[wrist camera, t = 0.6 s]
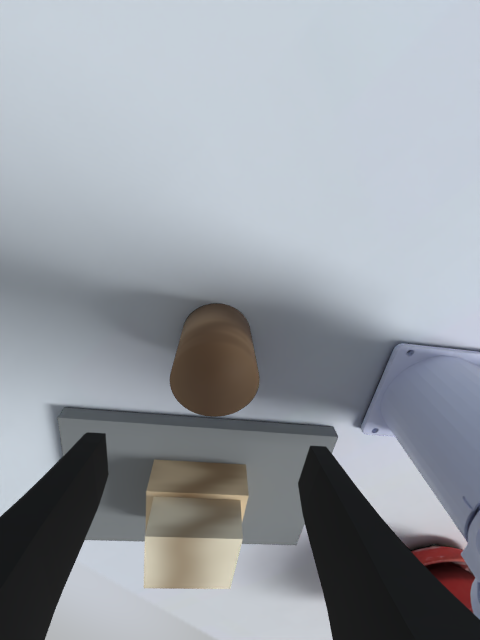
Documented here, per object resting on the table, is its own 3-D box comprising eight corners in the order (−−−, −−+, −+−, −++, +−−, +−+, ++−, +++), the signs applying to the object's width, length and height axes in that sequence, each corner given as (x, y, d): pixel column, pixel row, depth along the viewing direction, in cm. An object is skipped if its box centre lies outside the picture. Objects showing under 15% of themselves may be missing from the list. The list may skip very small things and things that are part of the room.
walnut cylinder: (255, 307, 18) (266, 348, 14) (244, 366, 20) (251, 419, 16) (184, 299, 18) (172, 338, 13) (180, 360, 20) (167, 413, 15)
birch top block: (240, 500, 21) (242, 539, 18) (229, 548, 23) (230, 588, 21) (153, 496, 20) (144, 536, 18) (151, 547, 22) (143, 588, 20)
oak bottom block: (245, 464, 23) (248, 495, 20) (233, 520, 26) (234, 552, 23) (154, 459, 22) (146, 491, 20) (152, 517, 25) (144, 551, 22)
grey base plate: (333, 427, 23) (338, 436, 22) (293, 533, 29) (296, 545, 28) (64, 407, 21) (57, 417, 20) (80, 527, 26) (75, 539, 25)
